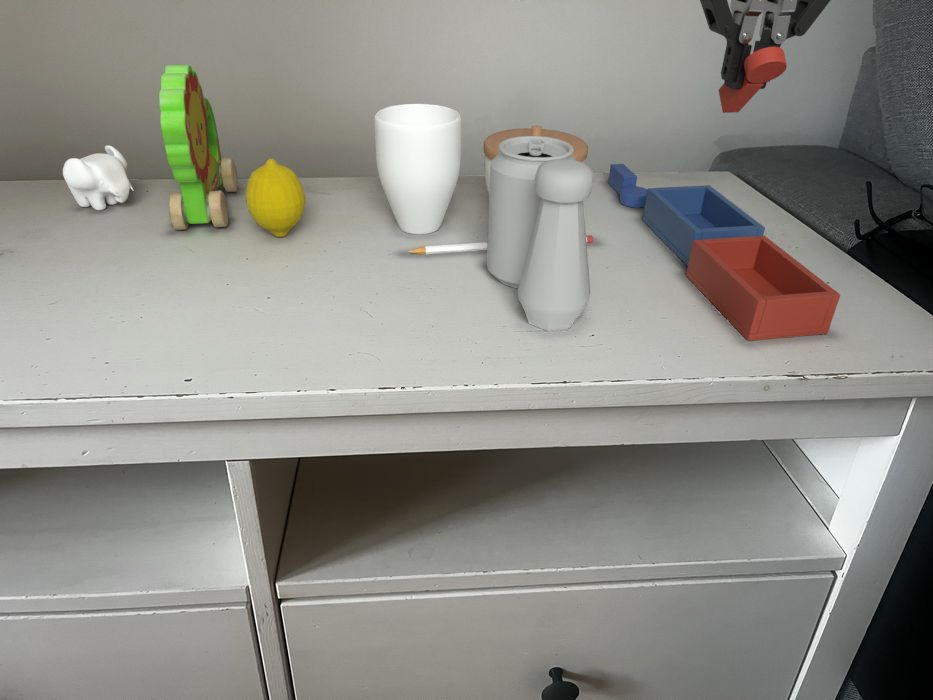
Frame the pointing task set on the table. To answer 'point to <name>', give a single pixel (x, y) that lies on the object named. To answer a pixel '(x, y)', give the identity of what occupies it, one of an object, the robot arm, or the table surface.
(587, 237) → the pencil
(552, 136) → the trinket box
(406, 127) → the mug
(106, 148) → the elephant figurine
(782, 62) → the red spoon
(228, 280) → the table surface
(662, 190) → the blue bin
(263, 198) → the fruit
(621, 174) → the blue spoon
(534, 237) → the salt shaker
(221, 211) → the toy lion
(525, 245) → the can
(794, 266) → the red bin
